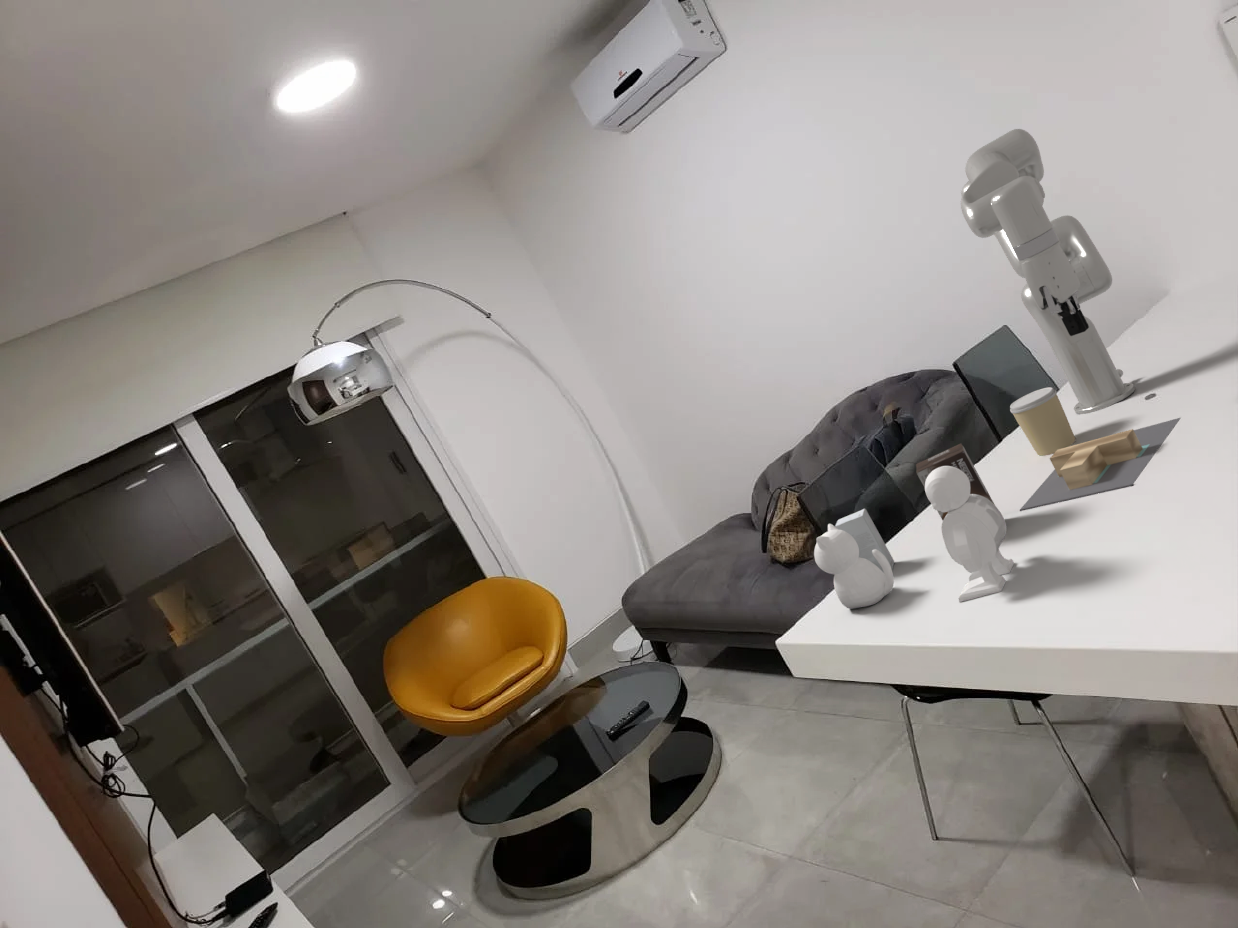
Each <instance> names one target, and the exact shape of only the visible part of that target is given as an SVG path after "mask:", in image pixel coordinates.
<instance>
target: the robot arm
mask: <svg viewBox="0 0 1238 928" xmlns="http://www.w3.org/2000/svg"><path fill="white" fill-rule="evenodd" d="M964 169H965V170H964V171H965V174H966V177H967V179H968V181H967V182H965V184H964V185H963V187H962V188H961V190H960V191H961V192H960V193H961V200H960V209H961V212H962V213H961V214H962V215H963V218H964V219H965V222H966V224H967V225H968V227H969V229H970V231H972V233H973V234H974V235H975V236H977V237H979V238H982V239H983V238H984V239H986V238H989V237H991V236H995V238H996V240H997V241H998V244H999V246H1000V247H1001V249H1002V251H1003V253H1004V254H1005V256H1006V258H1007V260H1008V262H1009V263H1010V265H1011V267H1012V269H1013V270H1014V272H1015V274H1017V275H1018V276H1019V277H1020V278H1023V279H1025V282H1026V284H1025V285H1024V287H1022V289H1021V291H1020V292H1021V293H1020V295H1021V296H1020V297H1021V301H1022V302H1023V305H1024V307H1025V308H1026V310H1027V311H1028V313H1029V314H1030V316H1032V318H1033V319H1034V321H1035V322H1036V324H1037V325H1038V326H1039V328H1040V330H1041V331H1042V333H1043V335H1044V337H1045V339H1046V340H1047V342H1048V345H1049V346H1050V348H1051V350H1052V352H1053V354H1054V356H1055V358H1056V360H1057V362H1058V364H1059V366H1060V368H1061V370H1062V372H1063V374H1064V375H1065V377H1066V380H1067V382H1068V384H1069V385H1070V387H1071V390H1072V391H1073V394H1074V396H1075V397H1076V399H1077V403H1076V404H1075V405H1074V406H1073V410H1074V412H1075V414H1077V415H1084V414H1085V415H1086V414H1091V413H1093V412H1097V411H1101V410H1102V409H1105V408H1108V407H1110V406H1112V405H1116V404H1117V403H1119V402H1122V401H1123V400H1125V399H1126V398H1129V396H1130V395H1132V394H1133V393H1134V392H1135V390H1136V388H1135V385H1134V384H1133V383H1130V382H1127V383H1125V382H1124V381H1123V380H1122V377H1123V375H1124V372H1123V370H1122V369H1119V368H1117V367H1116V366H1115V363H1114V362H1113V359H1112V358H1111V356H1110V353H1109V352H1108V350H1107V348H1106V346H1105V344H1104V342H1103V339H1102V338H1101V336H1100V334H1099V332H1098V330H1097V328H1096V326H1095V324H1094V323H1093V321H1092V320H1091V319H1089V317H1087V316H1085V315H1084V314H1083V311H1082V309H1081V304H1083V303H1086V302H1087V301H1089V300H1091V299H1093V298H1096V297H1098V296H1099V295H1101V294H1104V293H1105V292H1106V291H1108V290H1109V289H1110V288H1111V287H1112V284H1113V276H1112V273H1111V270H1110V269H1109V267H1108V265H1107V263H1106V262H1105V260H1104V258H1103V257H1102V255H1101V253H1100V252H1099V251H1098V249H1097V247H1096V246H1095V244H1094V242H1093V240H1092V238H1090V236H1089V234H1088V232H1087V231H1086V228H1084V226H1083V225H1082V223H1081V222H1080V221H1079V220H1078V219H1077V218H1076V217H1074V216H1073V215H1068V214H1067V215H1062V216H1059V217H1057V218H1055V219H1053V220H1051V221H1050V219H1049V217H1048V214H1047V212H1046V211H1045V208H1044V207H1043V205H1044V199H1045V197H1046V193H1045V191H1044V188H1043V185H1042V184H1041V181H1042V180H1043V178H1044V175H1045V174H1044V173H1045V169H1044V165H1043V161H1042V157H1041V152H1040V149H1039V145H1038V143H1037V141H1036V140H1035V138H1034V137H1033V136H1032V135H1031V133H1029V132H1028V131H1027V130H1025V129H1022V128H1014V129H1012V130H1010V131H1007V132H1006V133H1003V134H1002V135H1001V136H999V137H998V138H996V139H994V140H993V141H990V142H988V143H987V144H985V145H984V146H982V147H980V148H979V149H977V150H976V151H974V152H973V153H972V154H970V156H969V157H968V159H967V160H966V163H965V168H964Z"/></svg>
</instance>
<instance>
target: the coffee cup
mask: <svg viewBox="0 0 1238 928" xmlns="http://www.w3.org/2000/svg"><path fill="white" fill-rule="evenodd" d="M1057 393H1058V392H1057V390H1056V389H1054V388H1053V387H1051V386H1050V387H1048V386H1047V387H1044V388H1041V389H1037V390H1034V391H1032V392H1030V393H1027V394H1025V395H1024V396H1021V397H1020V398H1018V399H1016V400H1015V401H1013V402H1012V403H1011V404H1010V406H1009V411H1010V413H1011V414H1012V415H1013V416H1014V419H1015V420H1016V422H1017V424H1018V425H1019V426H1020V429H1021V430H1022V432H1023V434H1024V435H1025V437H1026V438H1027V441H1029V443H1030V444H1031V446H1032V448H1033V450H1034V451H1035V454H1037V456H1038V455H1039V457H1046V456H1050V455H1053V454H1054V453H1055V452H1056V451H1057V450H1058V449H1062V448H1066V447H1069V446H1073V445H1074V443H1075V442H1076V440H1077V439H1076V437H1075V434H1074V432H1073V430H1072V426H1071V425H1070V422H1069V420H1068V417H1067V415H1066V413H1065V410H1064V408H1063V406H1062V403H1061V401H1060V399H1059V397H1058V395H1057Z"/></svg>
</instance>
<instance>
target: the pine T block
mask: <svg viewBox="0 0 1238 928" xmlns="http://www.w3.org/2000/svg"><path fill="white" fill-rule="evenodd" d="M1134 430H1135V429H1133V428H1131V429H1127V430H1124V431H1119V432H1118V433H1114V434H1110V435H1105V436H1102V437H1099V438H1095V439H1091V440H1089V441H1084V442H1080V443H1078V444H1072V445H1070V446H1069V447H1066V448H1062V449H1058V450H1057V451H1056V452H1055V453H1054V454H1051V456H1050V458H1049V461H1050V463H1051V464H1052V467H1053V468H1054V470H1056V472H1057V474H1058V476H1059V477H1062V476H1063V478H1064V480H1065V482H1066V484H1067V486H1068V488H1069V489H1070V490H1072V489H1076V488H1080V487H1084V486H1089V485H1092V484H1093V483H1094V482H1095V480H1096V479H1097V478H1098V476H1099V475H1100V474H1101V473H1102V471H1103V470H1104V469H1105V467H1106V466H1107V465H1110V464H1114V463H1118V462H1122V461H1127V460H1131V459H1135V458H1136V457H1137V456H1138V455H1139V453H1140V452H1141V451H1142V449H1143V448H1142V446H1141V444H1140V442H1139V440H1138V438H1137V436H1136V434H1135V432H1134Z"/></svg>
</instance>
